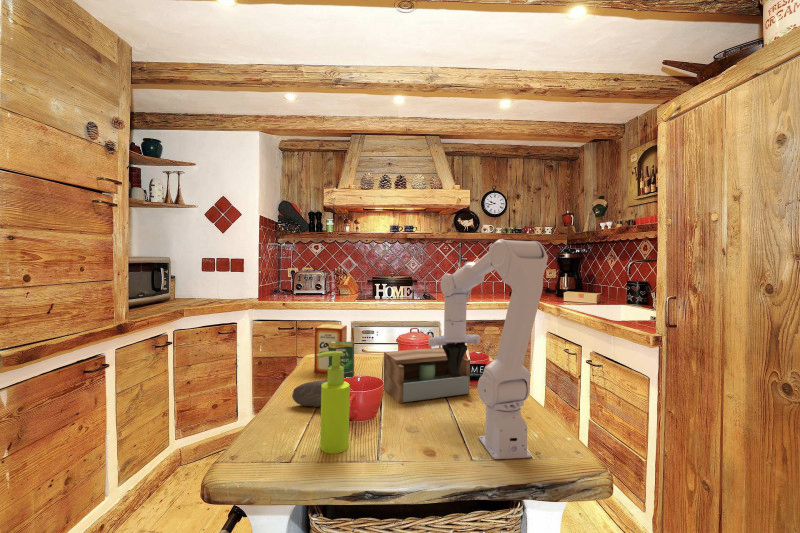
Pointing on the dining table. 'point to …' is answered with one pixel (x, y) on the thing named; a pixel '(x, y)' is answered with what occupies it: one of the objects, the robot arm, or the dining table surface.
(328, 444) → the soap dispenser
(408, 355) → the wooden drawer box
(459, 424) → the dining table surface
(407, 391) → the drawer tray
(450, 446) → the dining table surface
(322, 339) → the red food box
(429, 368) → the sea green cylinder
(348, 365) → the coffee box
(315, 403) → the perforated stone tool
